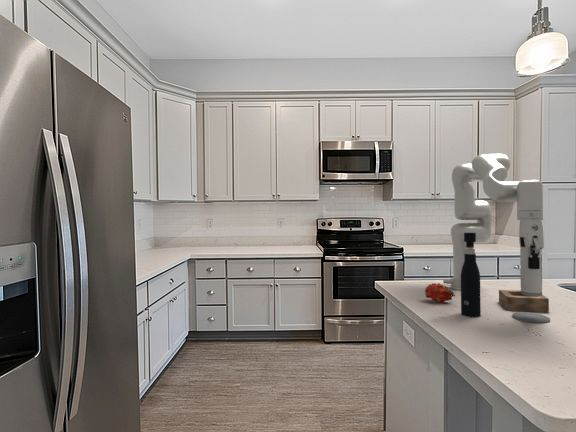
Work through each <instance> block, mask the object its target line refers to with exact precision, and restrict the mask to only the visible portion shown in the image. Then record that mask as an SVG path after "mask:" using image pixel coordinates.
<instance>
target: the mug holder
mask: <svg viewBox="0 0 576 432" xmlns="http://www.w3.org/2000/svg"><path fill="white" fill-rule="evenodd" d="M549 300H550V299H549V298H548V297H547V296H546V295H544V294H542V295H541V296H527V295H523V294H521V290H514V289H513V290H511V289H498V302H499V303H500V304H501V305H502V307H504V308H505V310H507V311H517V312H533V313H534V312H537V313H539V312H540V313H550V312H549V311H550V306H549V305H550V303H549V302H550V301H549Z"/></svg>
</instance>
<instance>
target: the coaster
mask: <svg viewBox="0 0 576 432" xmlns="http://www.w3.org/2000/svg"><path fill="white" fill-rule="evenodd" d="M511 316H512V318H513V319H514V320H516V321H521V322H525V323H531V324H547V323H550V322H551V318H550V317H549V316H546V315H544V314H540V313H534V312H529V311H517V312H514V313H512V314H511Z"/></svg>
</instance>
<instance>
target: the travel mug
mask: <svg viewBox="0 0 576 432" xmlns="http://www.w3.org/2000/svg"><path fill="white" fill-rule="evenodd" d="M519 248H520V249H519V250H520V251H519V256H520V259H519V261H520V264H519V267H520V272H519V273H520V291H521V294H523V295H527V296H541V295H543V260H542V259H543V254H542V253H543V249H540V253H539V254H540V269H529V268H528V257H529V251H528V249H527V248H526V247H525V243H524V237H520V243H519ZM530 248H534V246H530ZM540 248H541V247H540ZM531 251H533V250H531Z"/></svg>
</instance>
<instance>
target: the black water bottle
mask: <svg viewBox="0 0 576 432" xmlns="http://www.w3.org/2000/svg"><path fill="white" fill-rule="evenodd" d="M464 242H466V248H473V249H465V253H466V254H464V264H463V267H462V271H461V290H460V309H461V310H460V314H461V315H462V316H463V317H467V318H479V317H481V316H482V315H481V314H482V313H481V312H482V311H481V310H482V309H481V274H480V269H479V266H478V264H477V255H476V250H475V248H474V247H475V243H474V242H476V233H464Z"/></svg>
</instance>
